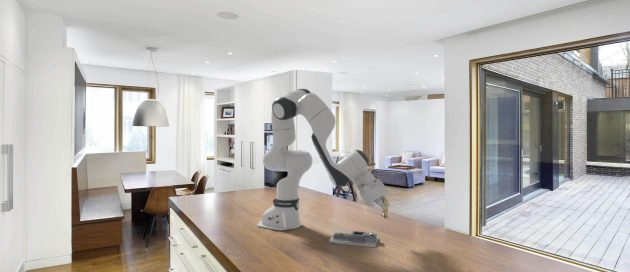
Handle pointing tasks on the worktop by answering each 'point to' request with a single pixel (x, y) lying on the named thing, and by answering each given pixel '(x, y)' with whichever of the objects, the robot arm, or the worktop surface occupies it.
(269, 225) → the robot arm
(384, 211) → the brass pin
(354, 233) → the chain jig
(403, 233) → the worktop surface
